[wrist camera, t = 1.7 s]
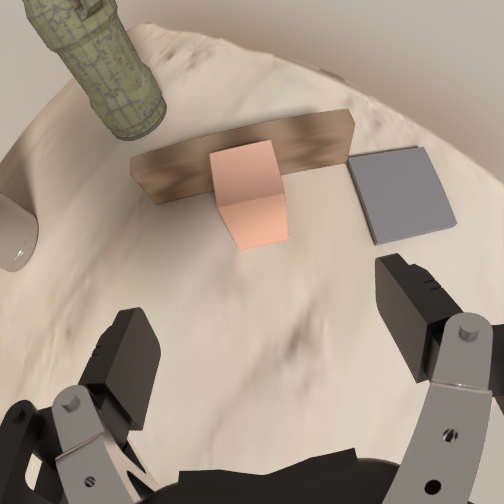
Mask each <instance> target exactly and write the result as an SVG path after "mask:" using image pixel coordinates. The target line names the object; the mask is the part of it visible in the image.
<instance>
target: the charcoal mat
mask: <svg viewBox="0 0 504 504" xmlns="http://www.w3.org/2000/svg"><path fill="white" fill-rule="evenodd" d="M347 165H348V167H349V170H350V173H351V175H352V178H353V181H354V184H355V186H356V189H357V192H358V195H359V198H360V200H361V203H362V206H363V209H364V212H365V215H366V218H367V221H368V224H369V228H370V231H371V234H372V237H373V240H374V244H375V245H379V244H383V243H388V242H392V241H396V240H401V239H405V238H409V237H413V236H418V235H422V234H426V233H430V232H435V231H439V230H443V229H447V228H451V227H454V226H455V225H456V224H457V221H456V219H455V216H454V214H453V211H452V209H451V206H450V204H449V201H448V199H447V196H446V194H445V191H444V189H443V187H442V184H441V182H440V180H439V178H438V175H437V173H436V171H435V169H434V167H433V165H432V163H431V160H430V158H429V156H428V154H427V152H426V150H425V148H424V147H420V148H412V149H404V150H397V151H390V152H383V153H376V154H370V155H363V156H357V157H351V158H348V160H347Z"/></svg>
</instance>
